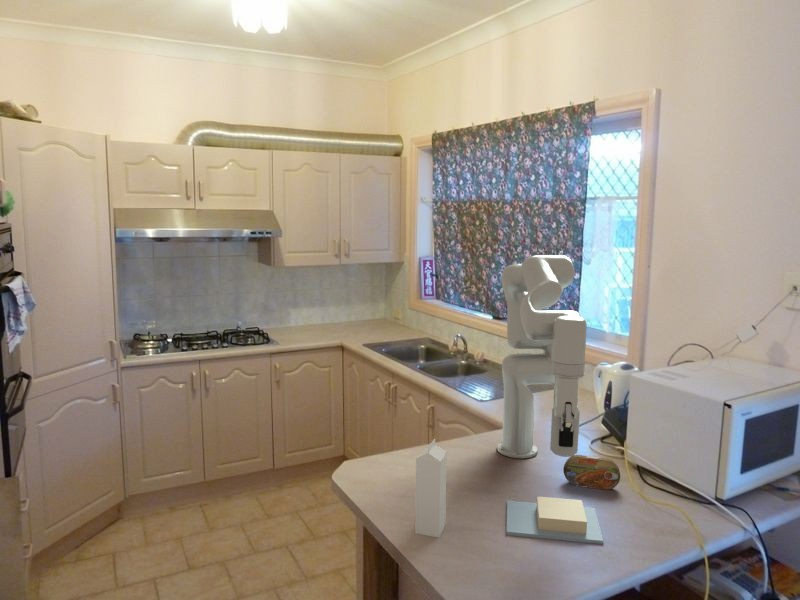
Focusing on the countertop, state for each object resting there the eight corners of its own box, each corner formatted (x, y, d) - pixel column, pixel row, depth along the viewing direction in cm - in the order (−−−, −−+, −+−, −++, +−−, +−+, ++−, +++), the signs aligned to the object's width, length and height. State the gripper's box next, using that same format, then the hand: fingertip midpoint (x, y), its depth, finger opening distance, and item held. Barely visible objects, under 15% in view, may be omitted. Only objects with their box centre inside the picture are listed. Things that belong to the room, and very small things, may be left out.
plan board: (507, 503, 162) (507, 489, 162) (594, 510, 158) (594, 496, 158) (506, 534, 147) (507, 519, 146) (603, 544, 143) (604, 528, 142)
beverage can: (557, 445, 154) (559, 399, 152) (581, 452, 150) (584, 404, 148) (545, 453, 149) (547, 405, 147) (570, 460, 145) (573, 411, 143)
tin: (562, 483, 174) (563, 455, 173) (563, 479, 177) (565, 451, 176) (619, 492, 169) (621, 463, 167) (619, 487, 172) (621, 458, 170)
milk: (415, 534, 147) (415, 445, 143) (422, 521, 152) (422, 436, 149) (440, 538, 145) (440, 448, 142) (446, 525, 151) (447, 439, 147)
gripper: (549, 358, 155) (546, 427, 158) (554, 377, 138) (550, 453, 141) (580, 360, 154) (576, 429, 157) (588, 379, 137) (584, 456, 140)
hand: (564, 440), depth 149 cm, fingers closed on beverage can, 6 cm apart
